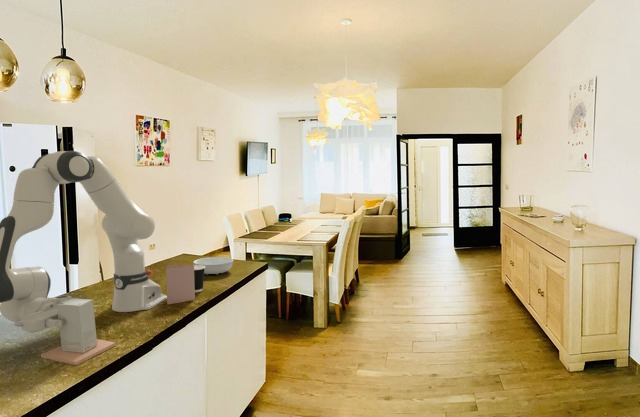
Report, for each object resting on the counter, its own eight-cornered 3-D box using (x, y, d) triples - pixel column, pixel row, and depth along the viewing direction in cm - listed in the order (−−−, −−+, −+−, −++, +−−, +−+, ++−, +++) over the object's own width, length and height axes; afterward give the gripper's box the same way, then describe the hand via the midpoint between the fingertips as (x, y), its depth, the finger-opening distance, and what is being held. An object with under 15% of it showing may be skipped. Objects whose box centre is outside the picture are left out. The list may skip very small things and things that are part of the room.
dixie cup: (209, 290, 191) (208, 267, 190) (193, 294, 185) (192, 270, 184) (200, 287, 196) (199, 264, 195) (184, 290, 191) (184, 267, 190)
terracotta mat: (82, 339, 136) (82, 336, 136) (115, 345, 131) (115, 342, 131) (41, 357, 123) (41, 354, 123) (76, 365, 118) (76, 361, 118)
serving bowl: (239, 269, 232) (239, 257, 231) (222, 279, 211) (222, 265, 211) (205, 267, 236) (205, 255, 236) (186, 276, 216) (185, 263, 215)
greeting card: (195, 299, 178) (194, 264, 177) (189, 304, 171) (188, 269, 169) (169, 298, 178) (168, 264, 177) (162, 304, 171) (161, 268, 170)
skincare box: (97, 345, 128) (95, 299, 127) (82, 354, 123) (79, 305, 121) (75, 343, 130) (72, 297, 129) (59, 351, 125) (56, 303, 123)
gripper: (9, 313, 121) (43, 319, 116) (72, 293, 140) (103, 298, 135) (10, 334, 121) (44, 341, 117) (73, 312, 140) (104, 317, 136)
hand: (76, 317), depth 126 cm, fingers open, 8 cm apart
